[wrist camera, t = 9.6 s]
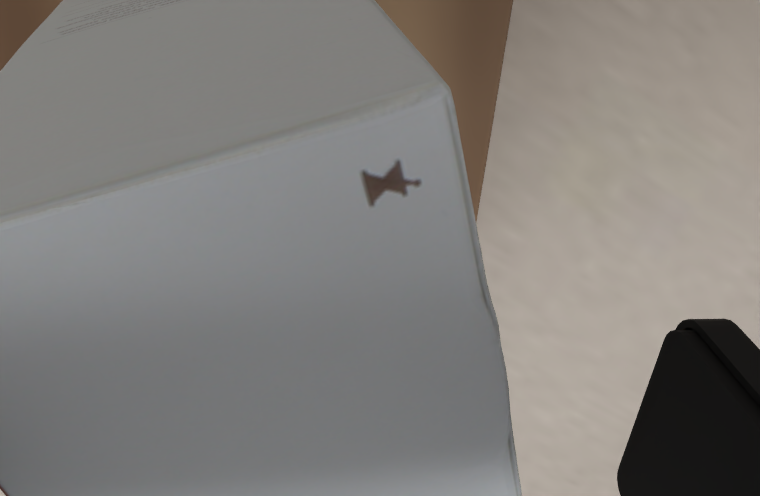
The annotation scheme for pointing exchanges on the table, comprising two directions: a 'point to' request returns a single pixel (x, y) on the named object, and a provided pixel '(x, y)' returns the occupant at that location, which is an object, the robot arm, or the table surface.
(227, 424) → the small box
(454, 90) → the walnut slab
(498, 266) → the table surface
